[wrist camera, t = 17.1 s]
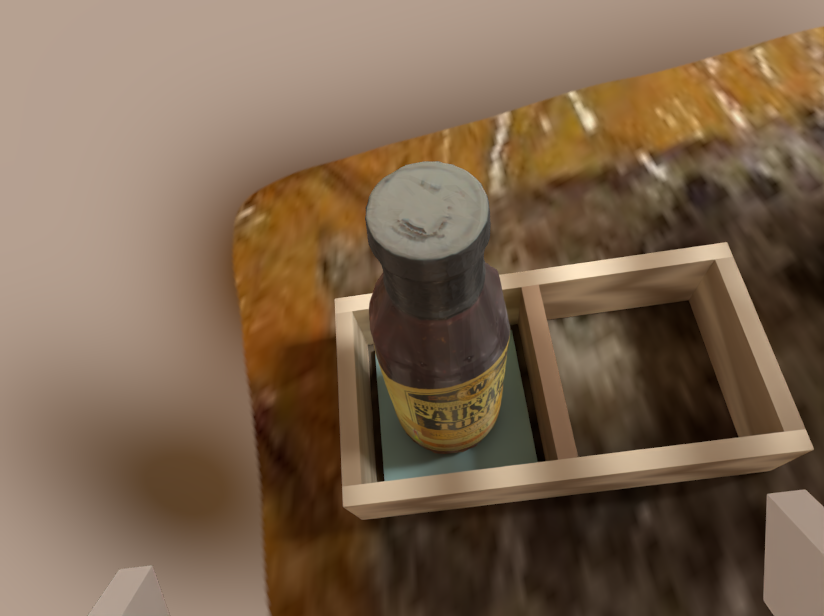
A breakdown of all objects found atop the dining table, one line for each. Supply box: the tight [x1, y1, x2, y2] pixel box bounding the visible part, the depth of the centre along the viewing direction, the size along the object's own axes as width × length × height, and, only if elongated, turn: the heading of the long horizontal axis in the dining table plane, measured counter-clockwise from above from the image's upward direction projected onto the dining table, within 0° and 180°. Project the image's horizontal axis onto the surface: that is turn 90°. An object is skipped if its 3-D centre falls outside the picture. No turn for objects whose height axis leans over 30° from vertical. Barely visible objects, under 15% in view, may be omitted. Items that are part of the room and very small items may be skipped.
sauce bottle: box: [365, 161, 510, 454], centre depth 27 cm, size 6×6×20 cm
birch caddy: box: [335, 242, 814, 520], centre depth 34 cm, size 23×12×5 cm, turn 96°
